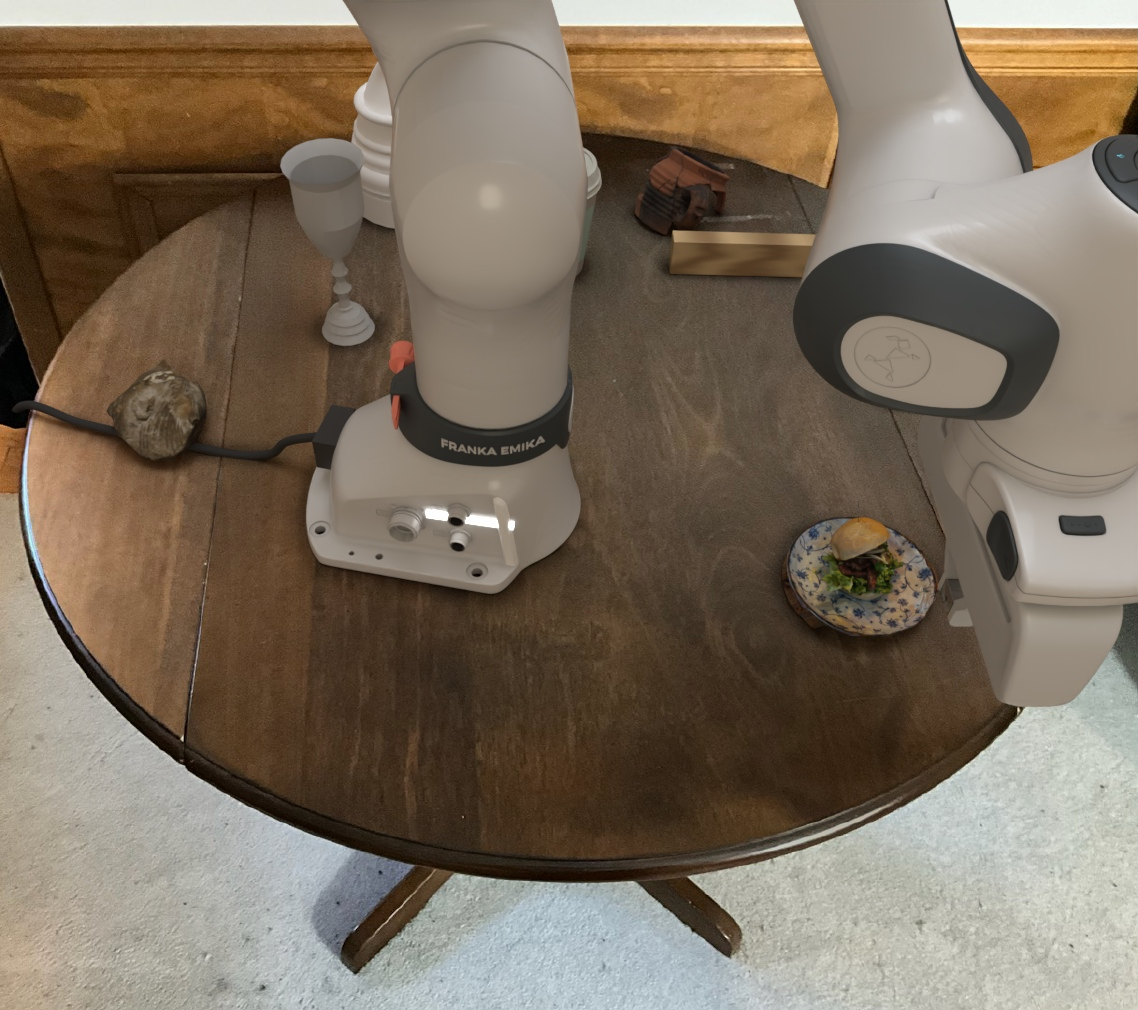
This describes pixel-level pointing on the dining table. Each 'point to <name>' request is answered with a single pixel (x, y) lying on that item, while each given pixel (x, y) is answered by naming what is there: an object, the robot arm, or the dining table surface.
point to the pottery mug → (693, 203)
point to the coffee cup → (589, 200)
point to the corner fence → (739, 253)
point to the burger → (858, 577)
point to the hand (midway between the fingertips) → (955, 607)
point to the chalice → (331, 221)
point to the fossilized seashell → (159, 413)
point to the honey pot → (374, 146)
